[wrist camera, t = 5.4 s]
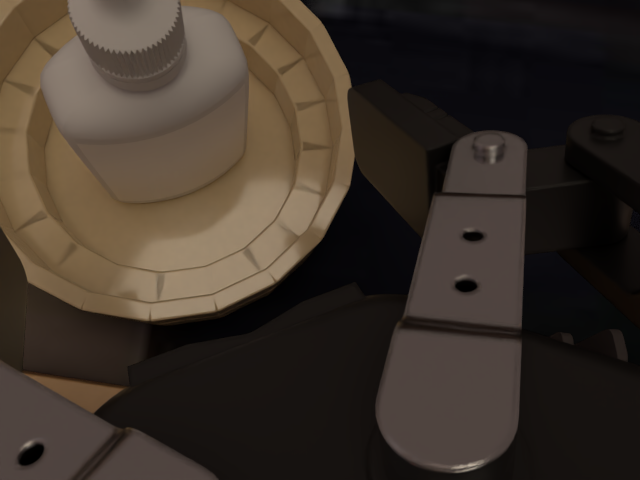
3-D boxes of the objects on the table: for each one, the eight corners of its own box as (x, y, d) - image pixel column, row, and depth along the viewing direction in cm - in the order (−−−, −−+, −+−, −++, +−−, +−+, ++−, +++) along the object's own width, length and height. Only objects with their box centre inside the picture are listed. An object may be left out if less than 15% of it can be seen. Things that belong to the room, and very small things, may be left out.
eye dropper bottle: (239, 217, 23) (242, 84, 11) (92, 201, 22) (-65, 42, 11) (250, 114, 24) (264, -109, 12) (108, 95, 23) (-20, -160, 12)
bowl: (49, -20, 24) (8, -101, 20) (356, 49, 26) (381, -12, 21) (-41, 292, 22) (-111, 278, 17) (307, 350, 23) (324, 351, 19)
